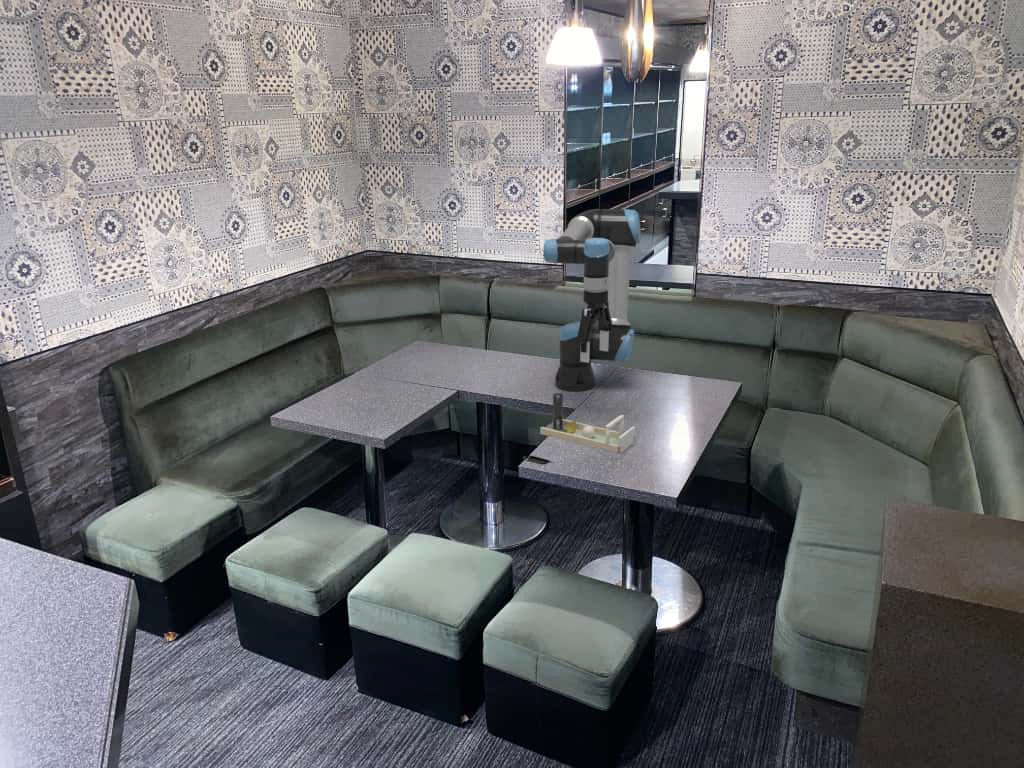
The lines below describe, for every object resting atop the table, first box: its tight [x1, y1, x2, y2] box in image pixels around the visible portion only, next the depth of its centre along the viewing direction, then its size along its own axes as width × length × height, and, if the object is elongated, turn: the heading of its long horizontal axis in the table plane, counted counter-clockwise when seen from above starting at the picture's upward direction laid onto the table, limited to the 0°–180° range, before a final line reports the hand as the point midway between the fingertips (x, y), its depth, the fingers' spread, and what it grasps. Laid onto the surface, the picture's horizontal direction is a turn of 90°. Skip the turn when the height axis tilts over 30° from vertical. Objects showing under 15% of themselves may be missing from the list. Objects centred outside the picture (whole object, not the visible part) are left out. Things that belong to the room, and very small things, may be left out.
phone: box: [522, 453, 551, 465], centre depth 236 cm, size 8×1×15 cm
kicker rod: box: [545, 392, 577, 434], centre depth 246 cm, size 8×7×12 cm
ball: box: [582, 425, 595, 438], centre depth 242 cm, size 4×4×4 cm
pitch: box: [539, 414, 636, 454], centre depth 242 cm, size 28×10×9 cm, turn 56°
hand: (594, 356), depth 246 cm, fingers open, 13 cm apart
